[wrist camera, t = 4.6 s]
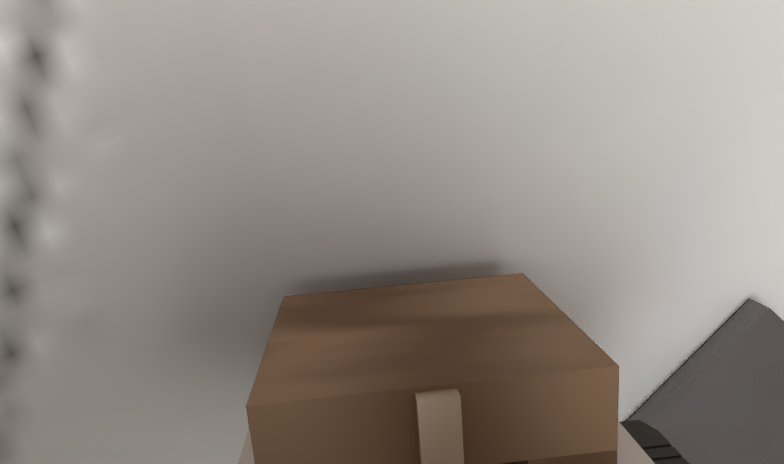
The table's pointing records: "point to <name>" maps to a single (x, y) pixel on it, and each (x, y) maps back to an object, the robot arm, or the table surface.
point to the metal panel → (727, 394)
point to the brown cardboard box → (433, 379)
